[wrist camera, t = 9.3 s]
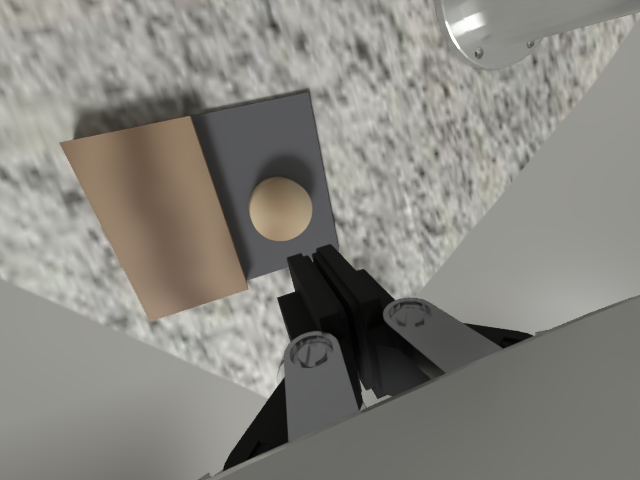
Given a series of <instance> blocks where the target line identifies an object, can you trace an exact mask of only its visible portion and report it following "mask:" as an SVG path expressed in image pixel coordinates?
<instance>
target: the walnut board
mask: <svg viewBox="0 0 640 480" xmlns="http://www.w3.org/2000/svg"><path fill="white" fill-rule="evenodd" d="M60 145H61V147H62V149H63V151H64V153H65V155H66V157H67V159H68V161H69V163H70V165H71V167H72V169H73V170H74V172H75V174H76V176H77V178H78V180H79V182H80V184H81V186H82V188H83V190H84V192H85V194H86V196H87V198H88V200H89V202H90V204H91V206H92V208H93V210H94V212H95V214H96V216H97V218H98V220H99V222H100V224H101V226H102V228H103V230H104V232H105V234H106V236H107V238H108V240H109V242H110V244H111V245H112V247H113V249H114V251H115V253H116V255H117V257H118V259H119V261H120V263H121V265H122V267H123V269H124V271H125V273H126V275H127V277H128V279H129V281H130V283H131V285H132V287H133V289H134V291H135V293H136V295H137V297H138V299H139V301H140V303H141V305H142V307H143V309H144V311H145V313H146V315H147V317H148V319H149V320H150V321H153V320H156V319H159V318H162V317H165V316H168V315H172V314H175V313H178V312H181V311H184V310H187V309H190V308H193V307H196V306H199V305H202V304H205V303H208V302H211V301H214V300H217V299H220V298H223V297H226V296H229V295H232V294H235V293H239V292H242V291H245V290H248V285H247V280H246V277H245V274H244V271H243V268H242V265H241V262H240V259H239V256H238V253H237V250H236V247H235V244H234V241H233V239H232V236H231V233H230V230H229V227H228V224H227V221H226V218H225V215H224V212H223V209H222V206H221V203H220V200H219V197H218V194H217V191H216V188H215V185H214V182H213V179H212V176H211V173H210V170H209V167H208V164H207V161H206V158H205V155H204V152H203V149H202V146H201V143H200V140H199V137H198V134H197V131H196V128H195V125H194V122H193V119H192V116H186V117H182V118H177V119H172V120H167V121H162V122H157V123H153V124H148V125H143V126H138V127H133V128H128V129H123V130H119V131H114V132H109V133H104V134H99V135H94V136H90V137H85V138H80V139H75V140H70V141H65V142H60Z"/></svg>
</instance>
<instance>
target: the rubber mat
mask: <svg viewBox="0 0 640 480" xmlns="http://www.w3.org/2000/svg"><path fill="white" fill-rule="evenodd" d="M192 119H193V122H194V125H195V128H196V131H197V134H198V137H199V140H200V143H201V146H202V149H203V152H204V155H205V158H206V161H207V164H208V167H209V170H210V173H211V176H212V179H213V182H214V185H215V188H216V191H217V194H218V197H219V200H220V203H221V206H222V209H223V212H224V215H225V218H226V221H227V224H228V227H229V230H230V233H231V236H232V239H233V241H234V244H235V247H236V250H237V253H238V256H239V259H240V262H241V265H242V268H243V271H244V274H245V277H246V280H250V279H253V278H256V277H259V276H262V275H265V274H268V273H271V272H274V271H277V270H281V269H284V268H287V267H289V266H288V262H287V257H290V256H293V255H296V254H299V253H302V255H303V256H306V255H308V256H309V257H310V259H311V260H312V253H316V248H318V247H322V246H325V245H328V244H331V245H332V246H333V247H334V248H335V249H336V250H337V251H339V248H338V243H337V238H336V232H335V227H334V222H333V217H332V212H331V206H330V201H329V196H328V191H327V186H326V180H325V175H324V170H323V165H322V160H321V154H320V149H319V144H318V139H317V134H316V128H315V123H314V118H313V113H312V108H311V102H310V97H309V92H307V93H302V94H297V95H293V96H288V97H283V98H278V99H273V100H268V101H264V102H259V103H254V104H249V105H244V106H239V107H235V108H230V109H225V110H220V111H215V112H210V113H206V114H201V115H196V116H192ZM275 176H281V177H286V178H289V179H291V180H293V181H294V182H296V183H297V184H299V185H300V186H301V187H302V188H304V190H305V191H306V192H307V193H308V195H309V197H310V199H311V202H312V217H311V220H310V222H309V224H308V226H307V228H306V229H305V230H304V231H303V232H302V233H301V234H300V235H298V236H297V237H295V238H293V239H290V240H286V241H274V240H270V239H268V238H266V237H264V236H263V235H261V234H260V233H259V232H258V231H257V230H256V228H255V227H254V225H253V223H252V220H251V218H250V215H249V211H248V201H249V197H250V194H251V192H252V190H253V189H254V188H255V186H256V185H257V184H258V183H260V182H261V181H263V180H264V179H267V178H270V177H275Z"/></svg>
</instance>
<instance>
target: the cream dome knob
mask: <svg viewBox="0 0 640 480" xmlns="http://www.w3.org/2000/svg"><path fill="white" fill-rule="evenodd" d="M248 211H249V215H250V218H251V220H252V223H253V225H254V227H255V228H256V230H257V231H258V232H259V233H260V234H261V235H263V236H264V237H266V238H268V239H270V240H274V241H286V240H290V239H293V238H295V237H297V236H298V235H300V234H301V233H302V232H303V231H304V230H305V229H306V228H307V226H308V224H309V222H310V220H311V217H312V202H311V199H310V197H309V195H308V193H307V192H306V191H305V190H304V188H302V187H301V186H300V185H299V184H297V183H296V182H294V181H293V180H291V179H289V178H286V177H281V176H275V177H270V178H267V179H264V180H263V181H261V182H260V183H258V184H257V185H256V186H255V188H254V189H253V190H252V192H251V194H250V197H249V201H248Z"/></svg>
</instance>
